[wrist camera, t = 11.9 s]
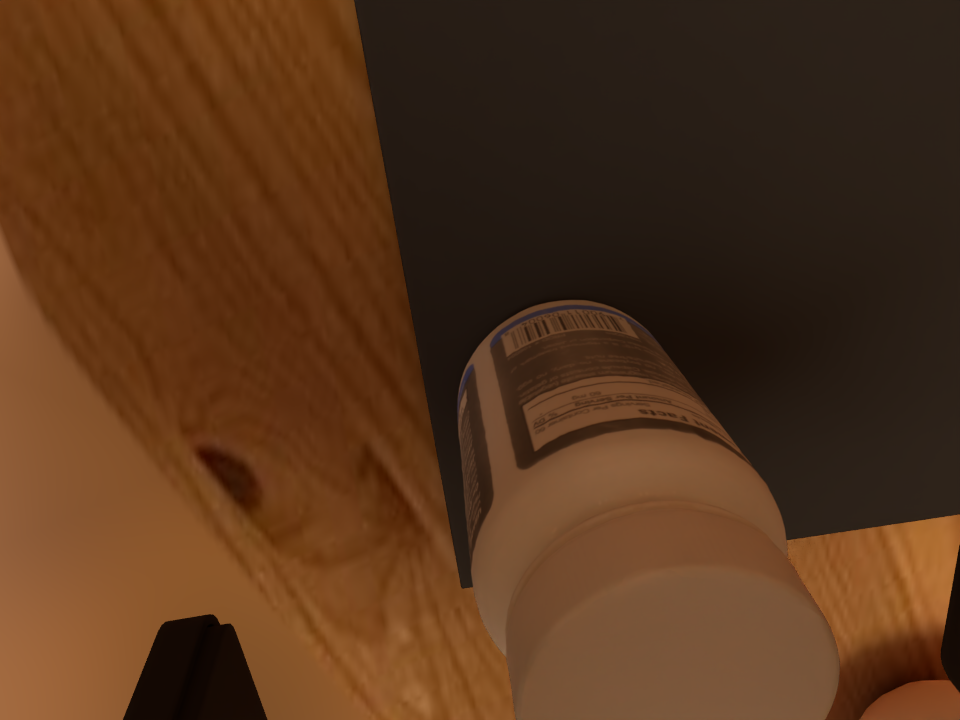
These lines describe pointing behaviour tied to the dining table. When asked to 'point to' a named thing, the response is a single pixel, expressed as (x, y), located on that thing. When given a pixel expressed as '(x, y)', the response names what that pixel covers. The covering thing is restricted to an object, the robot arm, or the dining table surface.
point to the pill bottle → (626, 535)
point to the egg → (917, 702)
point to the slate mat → (698, 217)
